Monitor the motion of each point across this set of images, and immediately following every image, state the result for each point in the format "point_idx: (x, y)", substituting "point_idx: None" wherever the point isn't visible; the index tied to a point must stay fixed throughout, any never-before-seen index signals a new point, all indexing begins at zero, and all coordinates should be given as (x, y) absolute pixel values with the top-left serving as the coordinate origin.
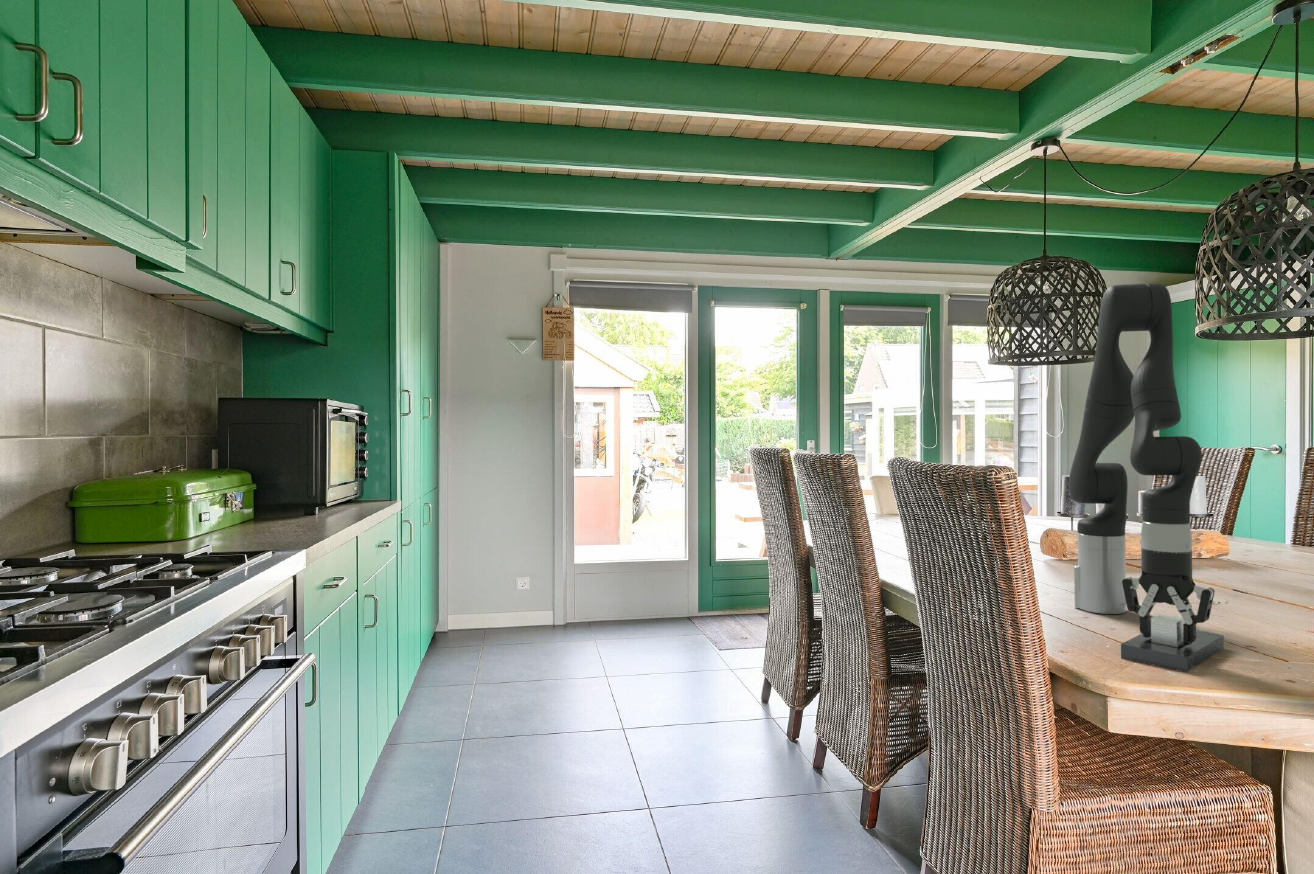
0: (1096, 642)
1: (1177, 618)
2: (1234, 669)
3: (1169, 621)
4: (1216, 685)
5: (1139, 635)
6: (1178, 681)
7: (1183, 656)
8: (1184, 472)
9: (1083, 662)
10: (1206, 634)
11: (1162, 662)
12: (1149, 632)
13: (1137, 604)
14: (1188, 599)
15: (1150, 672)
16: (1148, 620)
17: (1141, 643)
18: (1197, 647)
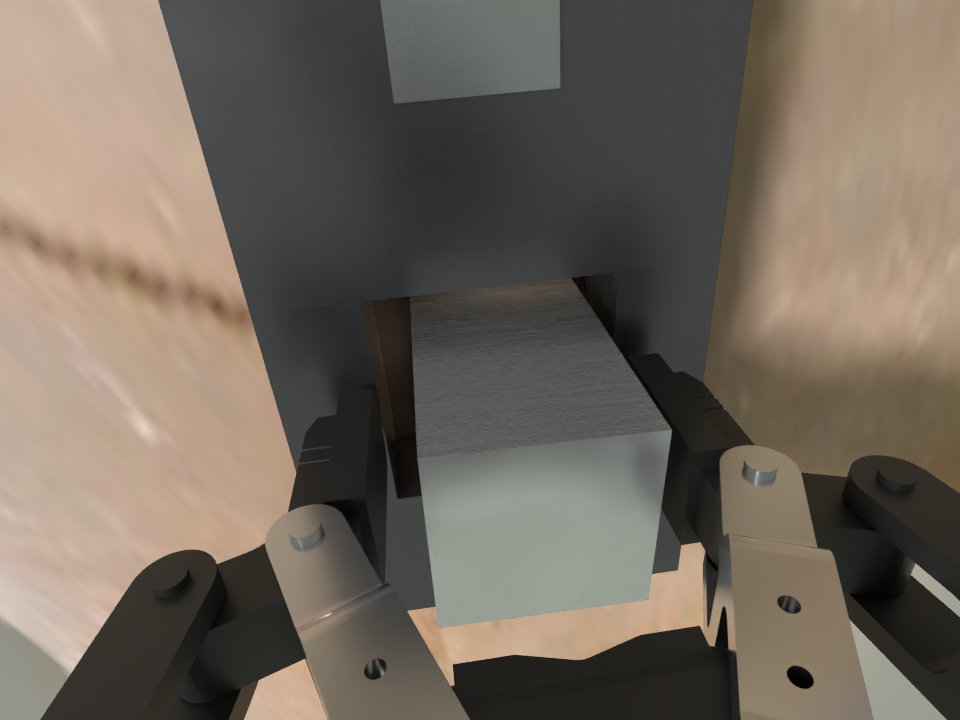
0: (39, 405)
1: (614, 485)
2: (827, 288)
3: (591, 606)
4: None
5: (274, 372)
6: (651, 626)
7: (661, 572)
8: None
9: (296, 703)
10: None
11: None
12: (381, 449)
13: (211, 634)
14: (851, 639)
15: (537, 618)
16: (382, 544)
17: (403, 533)
18: (681, 352)
